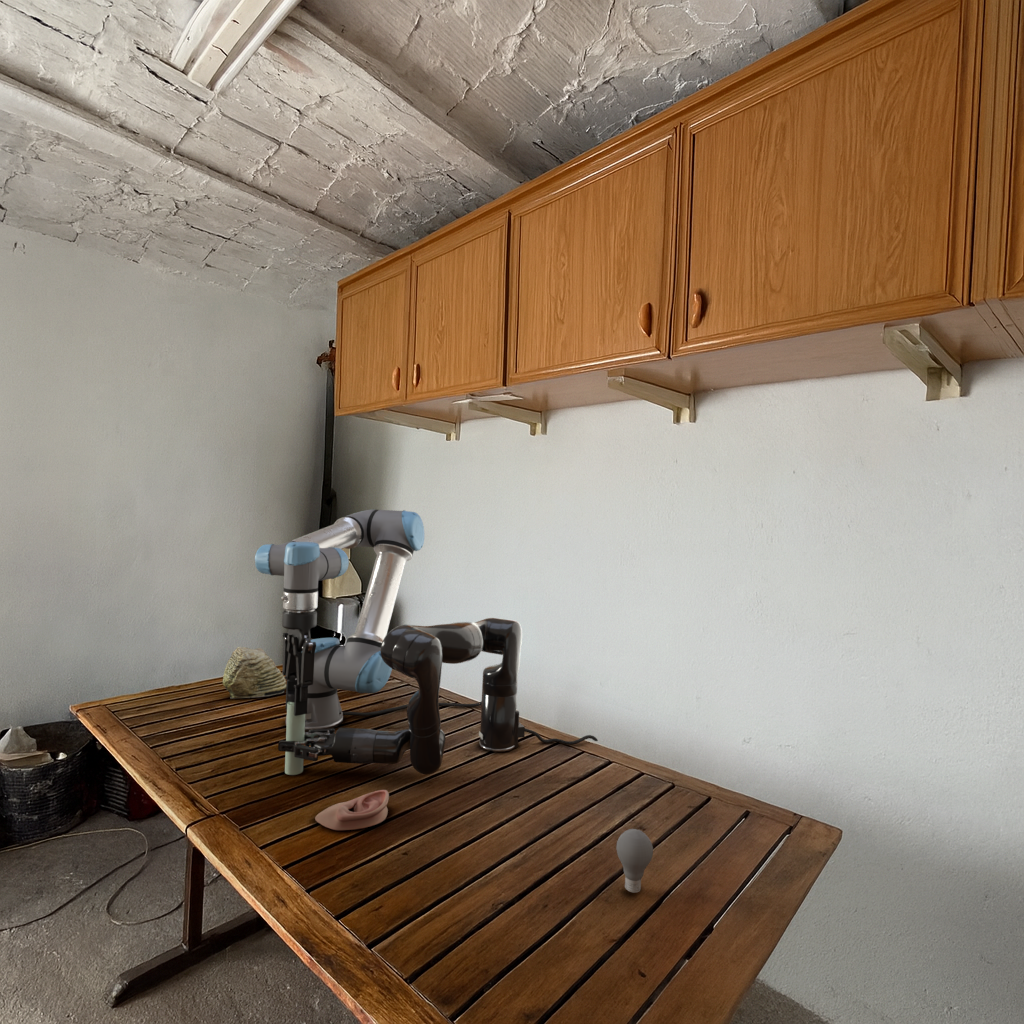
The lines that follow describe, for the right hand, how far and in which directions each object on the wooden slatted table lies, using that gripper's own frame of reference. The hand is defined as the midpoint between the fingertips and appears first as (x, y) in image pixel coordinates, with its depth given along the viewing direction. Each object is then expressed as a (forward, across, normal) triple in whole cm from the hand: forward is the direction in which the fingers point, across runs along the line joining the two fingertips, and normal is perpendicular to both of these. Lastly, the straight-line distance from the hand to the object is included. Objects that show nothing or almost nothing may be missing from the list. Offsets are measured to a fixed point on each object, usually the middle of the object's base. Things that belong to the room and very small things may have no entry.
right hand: (283, 741), depth 145 cm
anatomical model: (-22, +19, +7) cm, 30 cm away
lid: (-3, 0, -11) cm, 12 cm away
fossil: (+29, -52, +7) cm, 60 cm away
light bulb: (-74, +38, +7) cm, 83 cm away
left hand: (-3, 0, -7) cm, 8 cm away
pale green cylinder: (-3, 0, +7) cm, 7 cm away
